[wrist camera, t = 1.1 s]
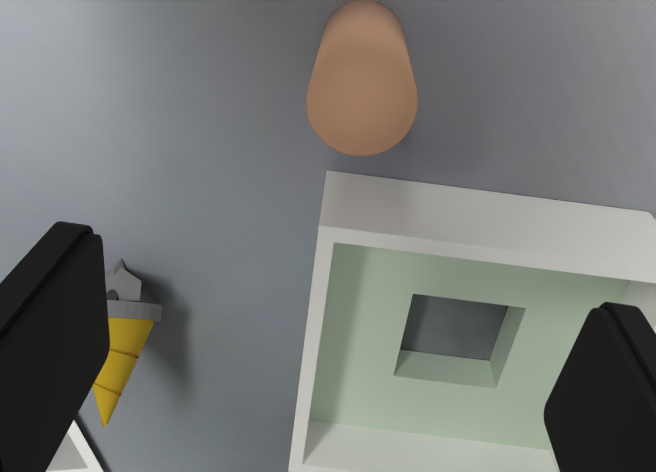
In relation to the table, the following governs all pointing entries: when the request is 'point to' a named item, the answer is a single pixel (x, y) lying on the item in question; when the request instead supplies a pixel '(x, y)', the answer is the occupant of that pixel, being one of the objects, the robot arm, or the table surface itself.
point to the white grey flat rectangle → (74, 454)
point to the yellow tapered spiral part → (122, 336)
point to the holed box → (456, 283)
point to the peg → (362, 81)
